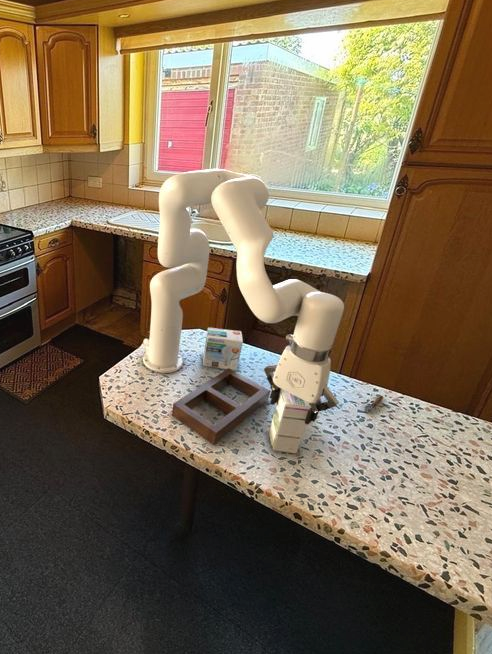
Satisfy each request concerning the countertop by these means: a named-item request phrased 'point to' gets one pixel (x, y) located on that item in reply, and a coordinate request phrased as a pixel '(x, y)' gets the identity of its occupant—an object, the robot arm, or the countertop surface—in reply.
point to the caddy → (220, 405)
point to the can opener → (374, 404)
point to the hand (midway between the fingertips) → (291, 411)
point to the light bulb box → (222, 348)
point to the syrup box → (288, 422)
